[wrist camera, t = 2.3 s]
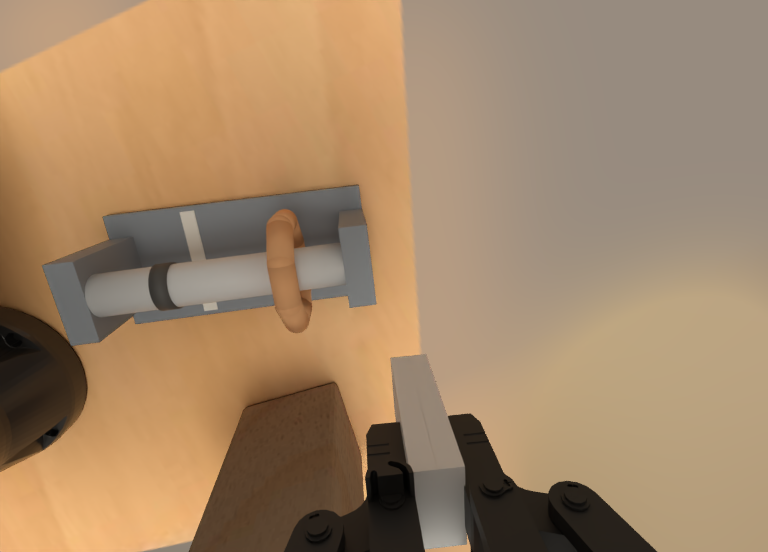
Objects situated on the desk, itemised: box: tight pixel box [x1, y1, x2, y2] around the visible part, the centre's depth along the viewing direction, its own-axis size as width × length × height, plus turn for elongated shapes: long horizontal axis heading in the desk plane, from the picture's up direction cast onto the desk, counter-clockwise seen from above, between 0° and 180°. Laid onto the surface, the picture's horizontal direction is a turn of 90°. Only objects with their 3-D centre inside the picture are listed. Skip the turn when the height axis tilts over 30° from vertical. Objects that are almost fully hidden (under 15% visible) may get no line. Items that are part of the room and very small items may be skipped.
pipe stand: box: [42, 185, 376, 346], centre depth 34 cm, size 22×10×10 cm, turn 96°
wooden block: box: [189, 383, 364, 552], centre depth 36 cm, size 10×10×20 cm
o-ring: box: [266, 209, 312, 333], centre depth 32 cm, size 2×9×9 cm, turn 6°
